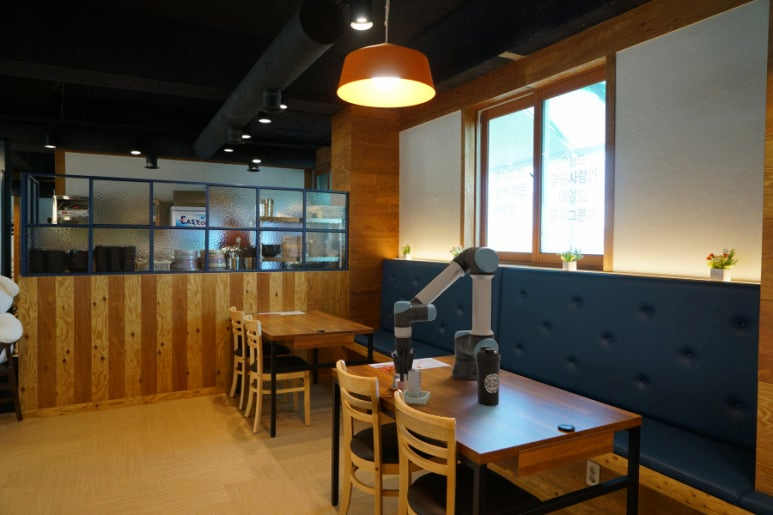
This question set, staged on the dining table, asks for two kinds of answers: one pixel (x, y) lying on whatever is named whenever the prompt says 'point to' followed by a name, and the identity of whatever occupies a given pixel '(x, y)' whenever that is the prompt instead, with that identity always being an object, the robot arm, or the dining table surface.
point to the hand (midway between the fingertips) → (404, 388)
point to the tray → (418, 401)
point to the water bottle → (488, 376)
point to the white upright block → (414, 383)
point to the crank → (398, 382)
